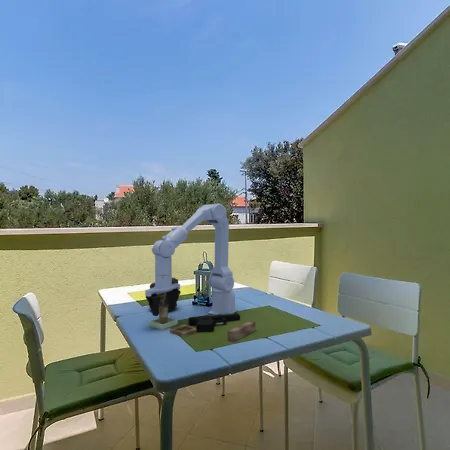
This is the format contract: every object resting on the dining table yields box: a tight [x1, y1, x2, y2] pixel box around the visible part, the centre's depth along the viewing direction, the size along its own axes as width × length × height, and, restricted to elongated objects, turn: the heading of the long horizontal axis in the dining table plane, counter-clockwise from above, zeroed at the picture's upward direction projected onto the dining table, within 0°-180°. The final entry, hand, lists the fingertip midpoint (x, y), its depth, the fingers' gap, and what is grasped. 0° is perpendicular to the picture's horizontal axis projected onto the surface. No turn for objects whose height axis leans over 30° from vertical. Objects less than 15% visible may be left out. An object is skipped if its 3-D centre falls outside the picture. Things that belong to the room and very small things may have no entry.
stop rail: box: [227, 320, 256, 343], centre depth 101 cm, size 13×2×3 cm, turn 143°
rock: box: [148, 277, 180, 313], centre depth 133 cm, size 14×13×15 cm
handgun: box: [187, 312, 241, 333], centre depth 112 cm, size 19×3×12 cm
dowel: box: [158, 306, 169, 324], centre depth 111 cm, size 3×3×6 cm
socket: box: [169, 324, 198, 338], centre depth 104 cm, size 7×7×1 cm
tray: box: [148, 317, 179, 331], centre depth 111 cm, size 7×7×2 cm
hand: (163, 313), depth 111 cm, fingers open, 7 cm apart
